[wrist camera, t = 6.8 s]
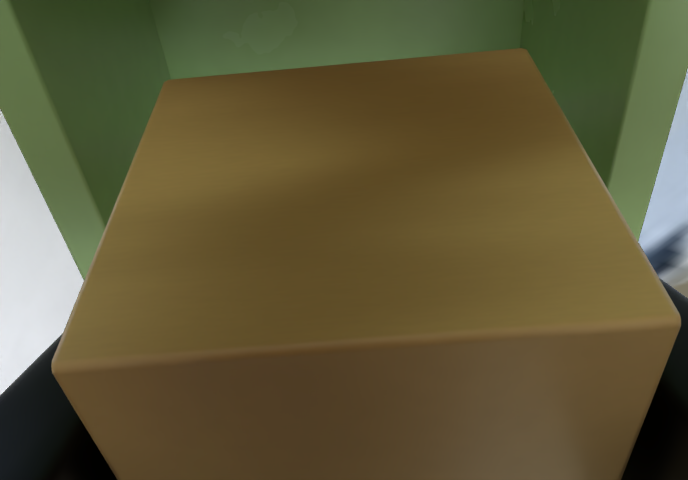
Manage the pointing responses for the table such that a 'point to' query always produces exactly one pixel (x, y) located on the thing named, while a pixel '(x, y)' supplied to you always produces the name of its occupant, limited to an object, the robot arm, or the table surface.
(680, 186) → the table surface
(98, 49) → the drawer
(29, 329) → the table surface
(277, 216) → the block
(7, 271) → the table surface
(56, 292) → the table surface
